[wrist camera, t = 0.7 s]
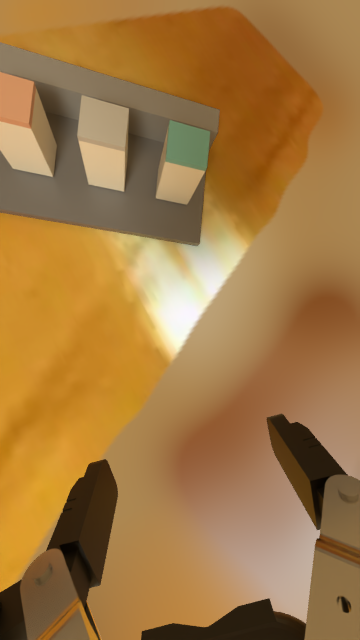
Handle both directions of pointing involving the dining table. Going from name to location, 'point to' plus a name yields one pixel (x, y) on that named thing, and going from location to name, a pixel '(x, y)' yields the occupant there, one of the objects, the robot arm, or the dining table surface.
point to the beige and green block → (182, 162)
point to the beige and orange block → (25, 127)
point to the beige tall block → (104, 142)
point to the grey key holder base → (69, 172)
